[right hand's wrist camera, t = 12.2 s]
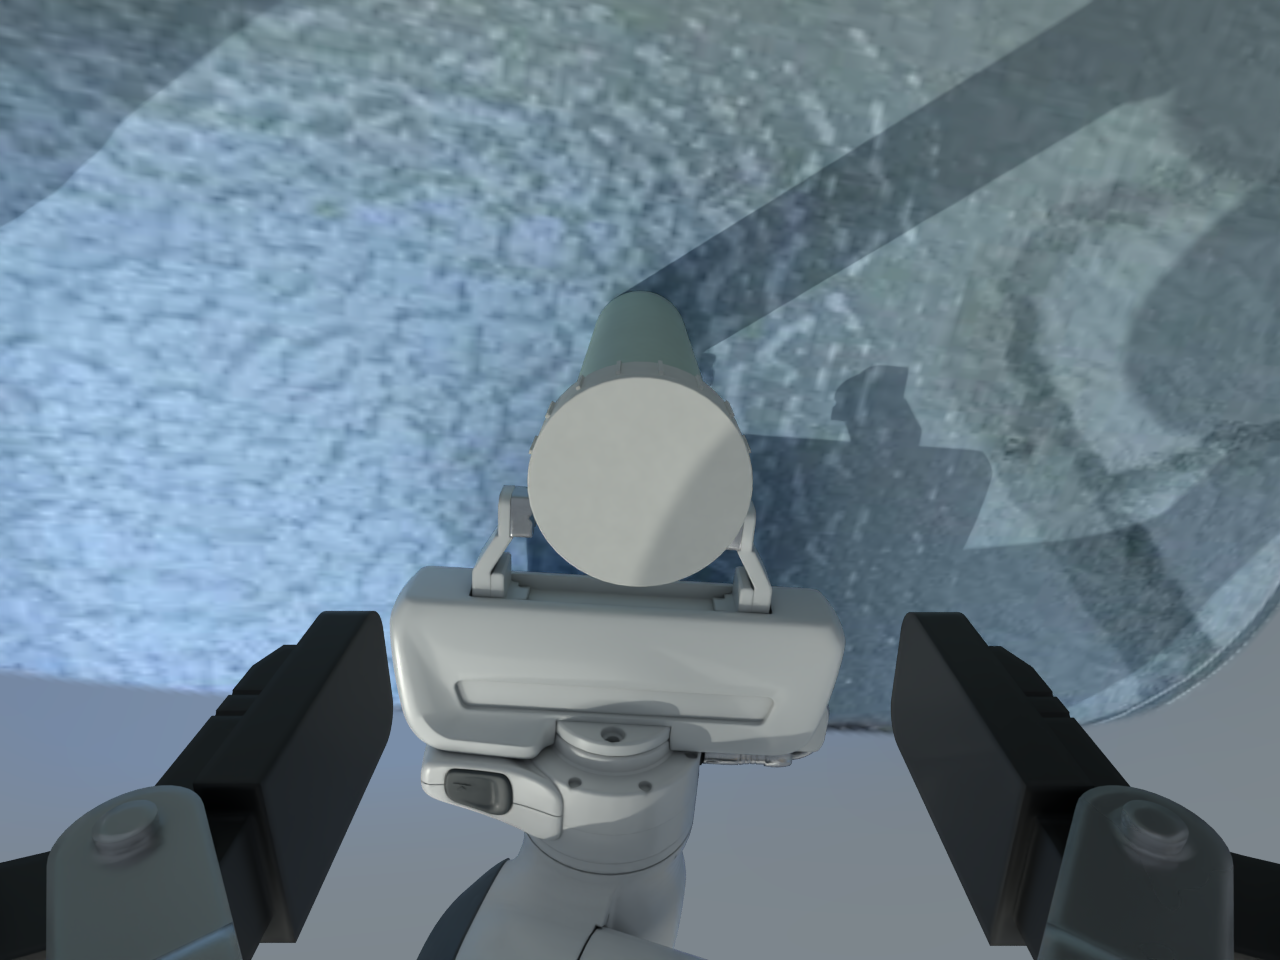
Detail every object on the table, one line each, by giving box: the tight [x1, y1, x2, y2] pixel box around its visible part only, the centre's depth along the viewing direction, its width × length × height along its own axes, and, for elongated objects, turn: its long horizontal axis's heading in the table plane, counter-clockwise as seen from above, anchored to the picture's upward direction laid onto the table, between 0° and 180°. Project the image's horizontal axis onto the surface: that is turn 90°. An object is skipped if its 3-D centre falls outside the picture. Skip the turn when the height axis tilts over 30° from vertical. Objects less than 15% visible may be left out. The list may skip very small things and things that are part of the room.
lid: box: [527, 360, 753, 587], centre depth 19 cm, size 6×6×2 cm
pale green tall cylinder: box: [578, 291, 703, 381], centre depth 28 cm, size 4×4×19 cm
